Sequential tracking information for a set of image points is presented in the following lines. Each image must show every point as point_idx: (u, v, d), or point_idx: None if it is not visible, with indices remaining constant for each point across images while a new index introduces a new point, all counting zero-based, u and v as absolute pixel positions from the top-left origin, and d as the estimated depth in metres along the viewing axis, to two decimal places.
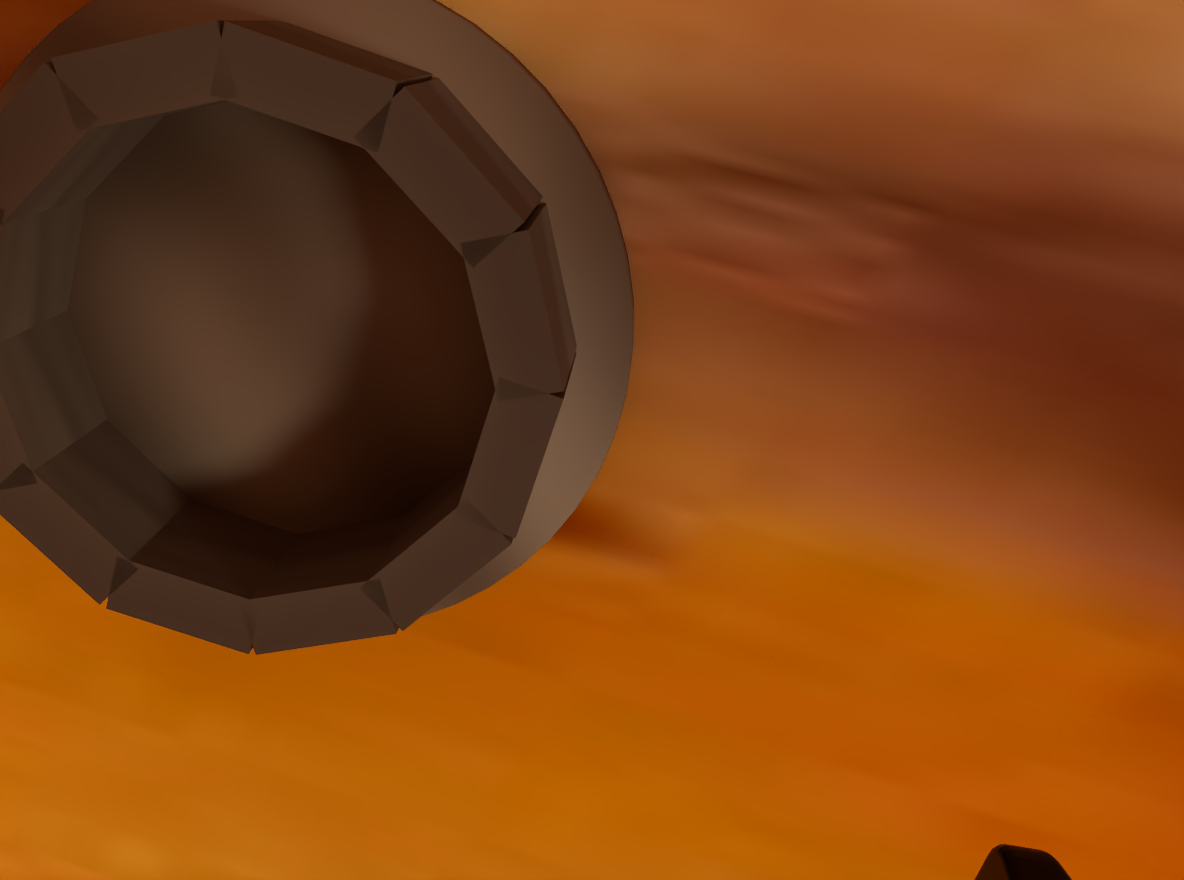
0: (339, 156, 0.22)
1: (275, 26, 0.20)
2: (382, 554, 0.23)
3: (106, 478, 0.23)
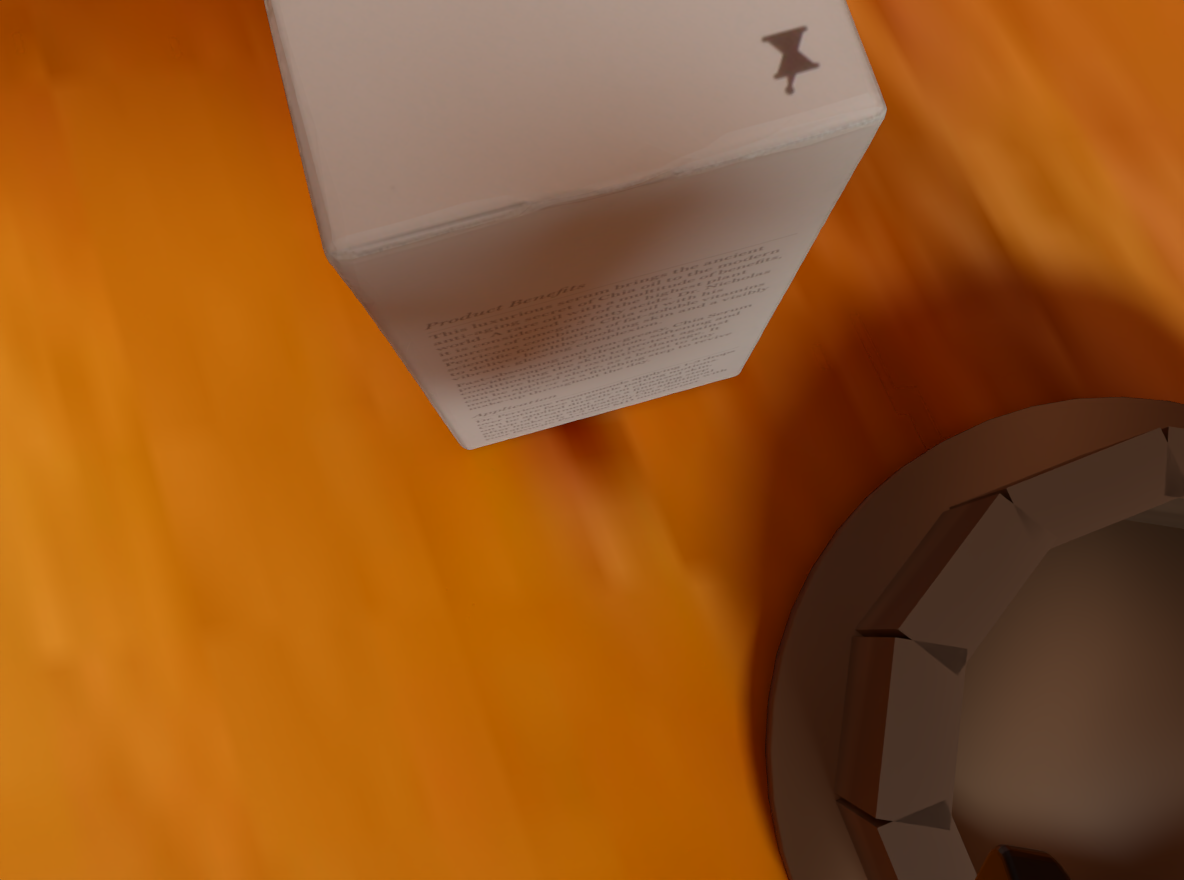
0: None
1: None
2: None
3: None
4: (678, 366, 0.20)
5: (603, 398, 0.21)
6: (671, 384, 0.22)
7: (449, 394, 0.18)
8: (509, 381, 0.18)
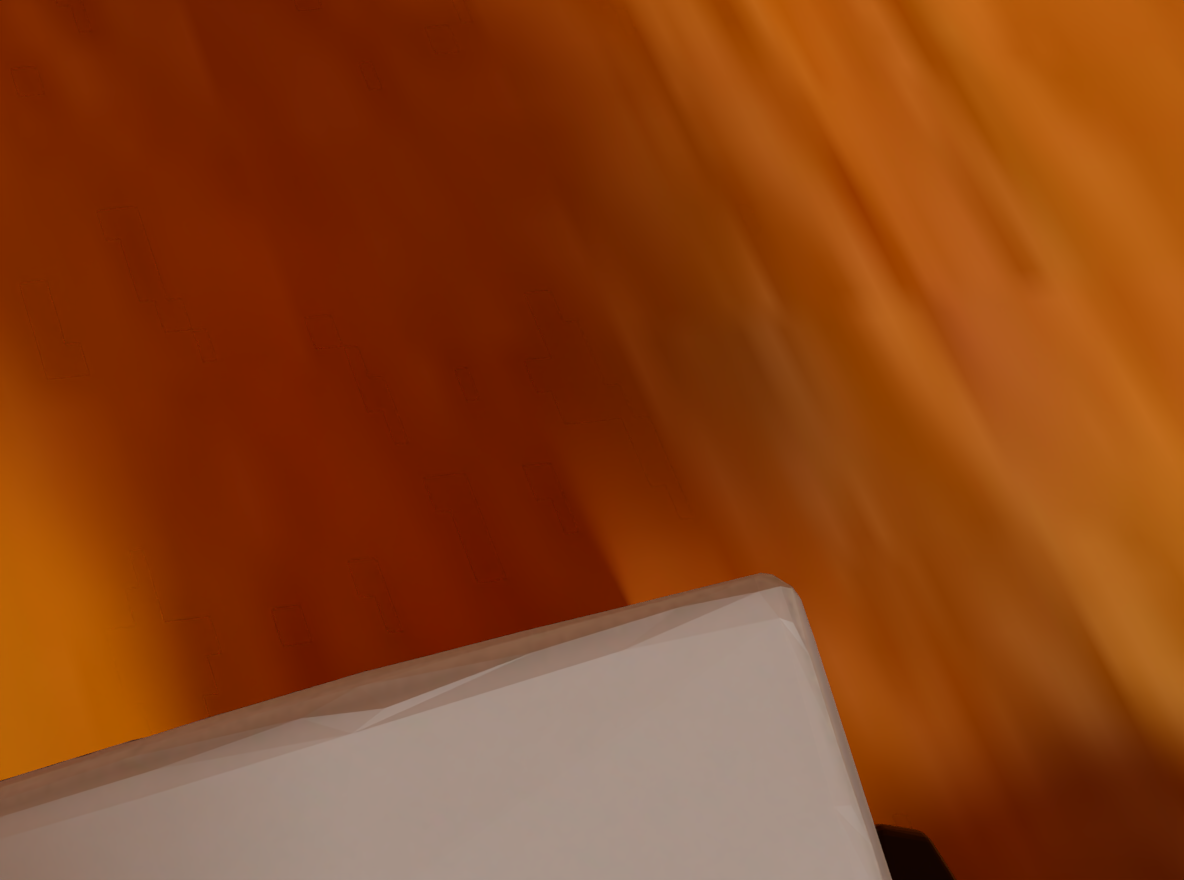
0: None
1: None
2: None
3: None
4: None
5: None
6: None
7: None
8: None
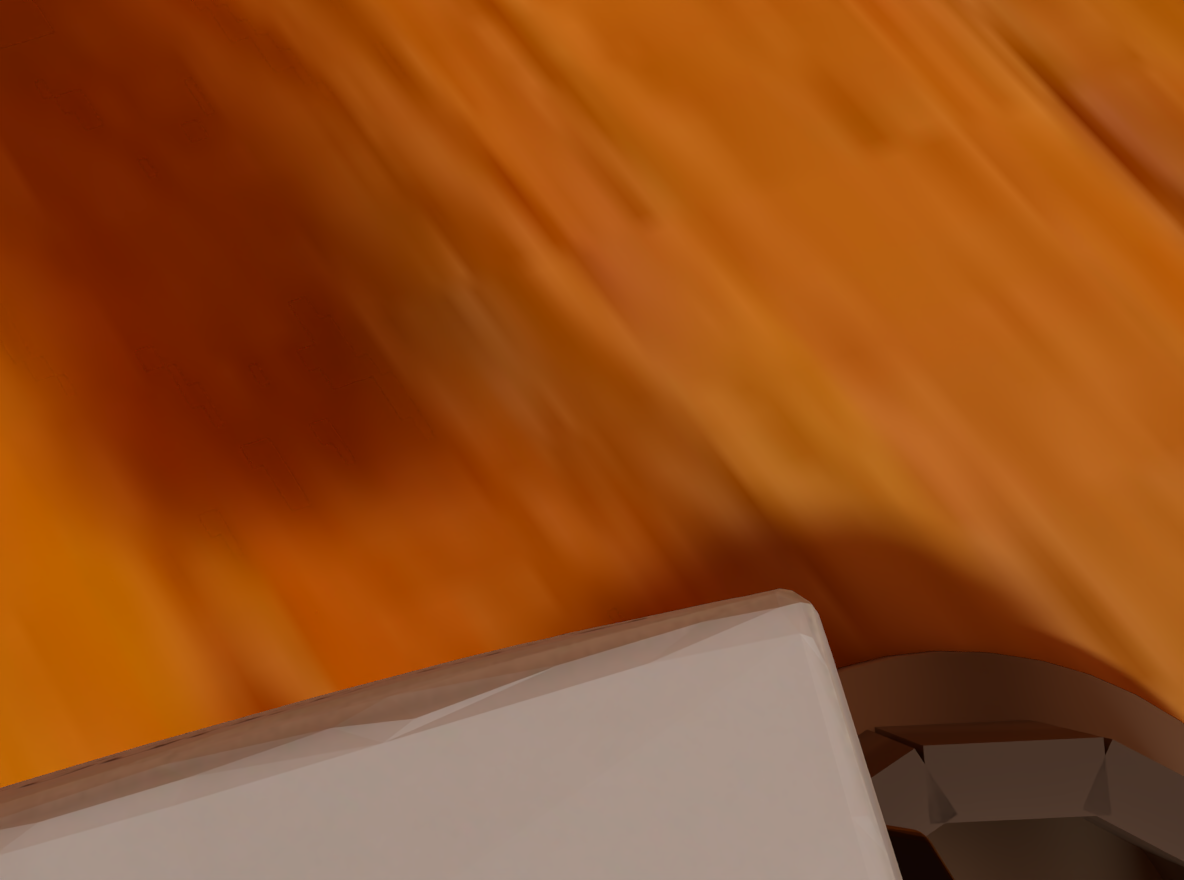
0: None
1: None
2: None
3: None
4: None
5: None
6: None
7: None
8: None
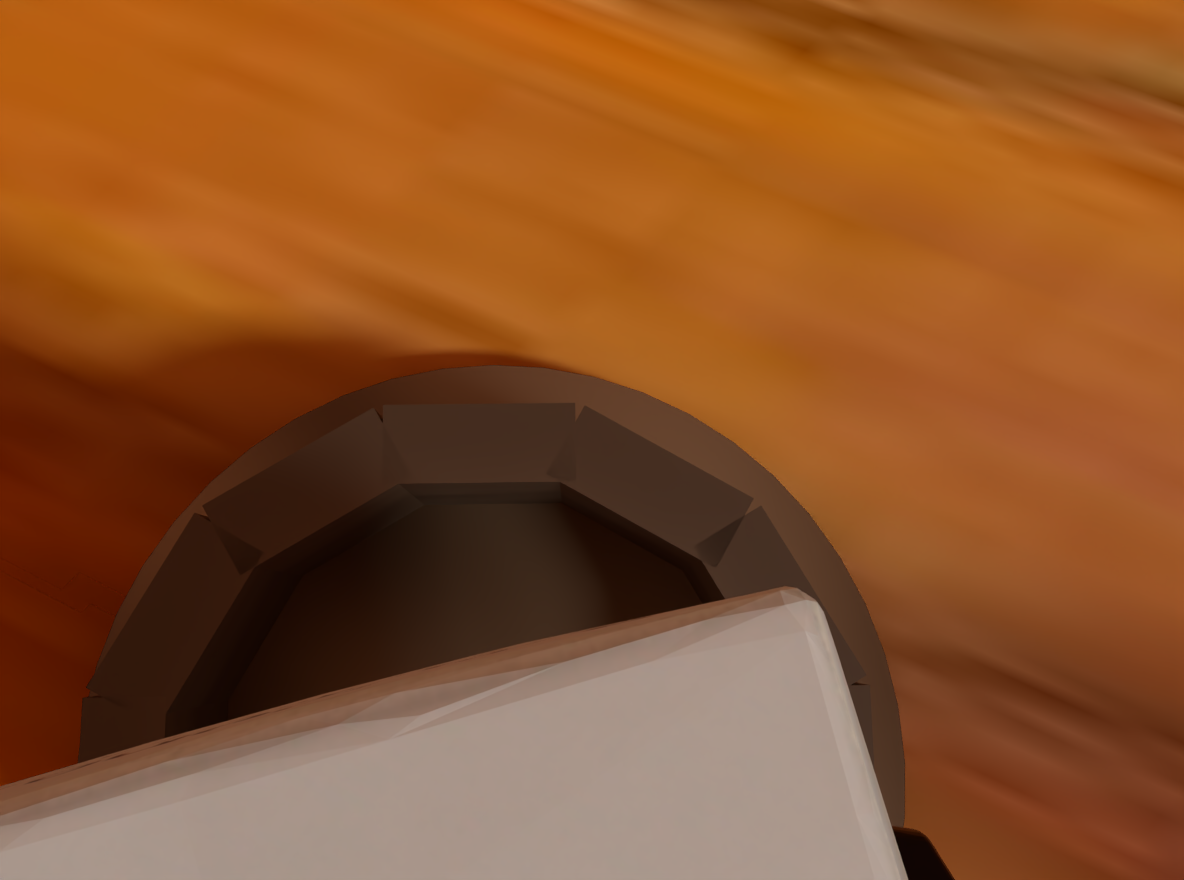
0: (605, 583, 0.20)
1: None
2: None
3: None
4: None
5: None
6: None
7: None
8: None
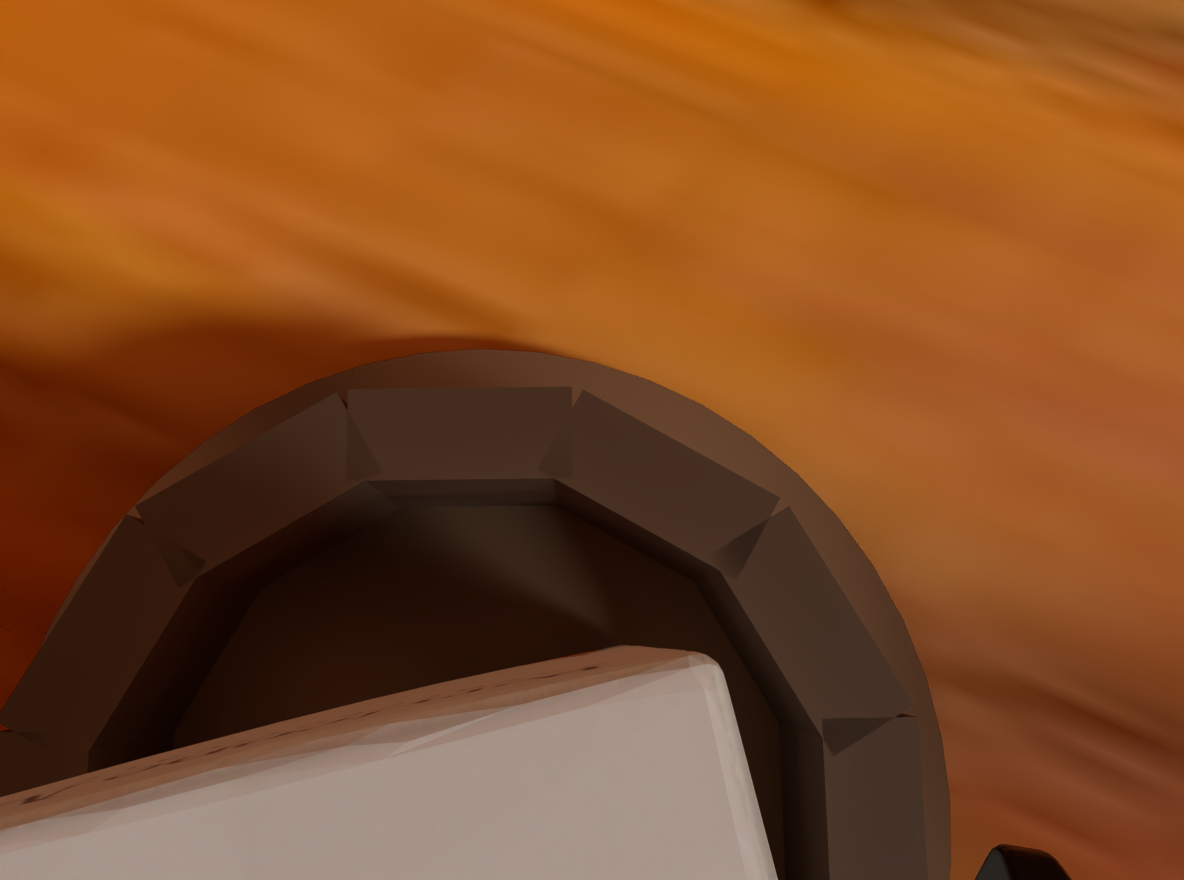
0: (607, 596, 0.17)
1: None
2: None
3: None
4: None
5: None
6: None
7: None
8: None
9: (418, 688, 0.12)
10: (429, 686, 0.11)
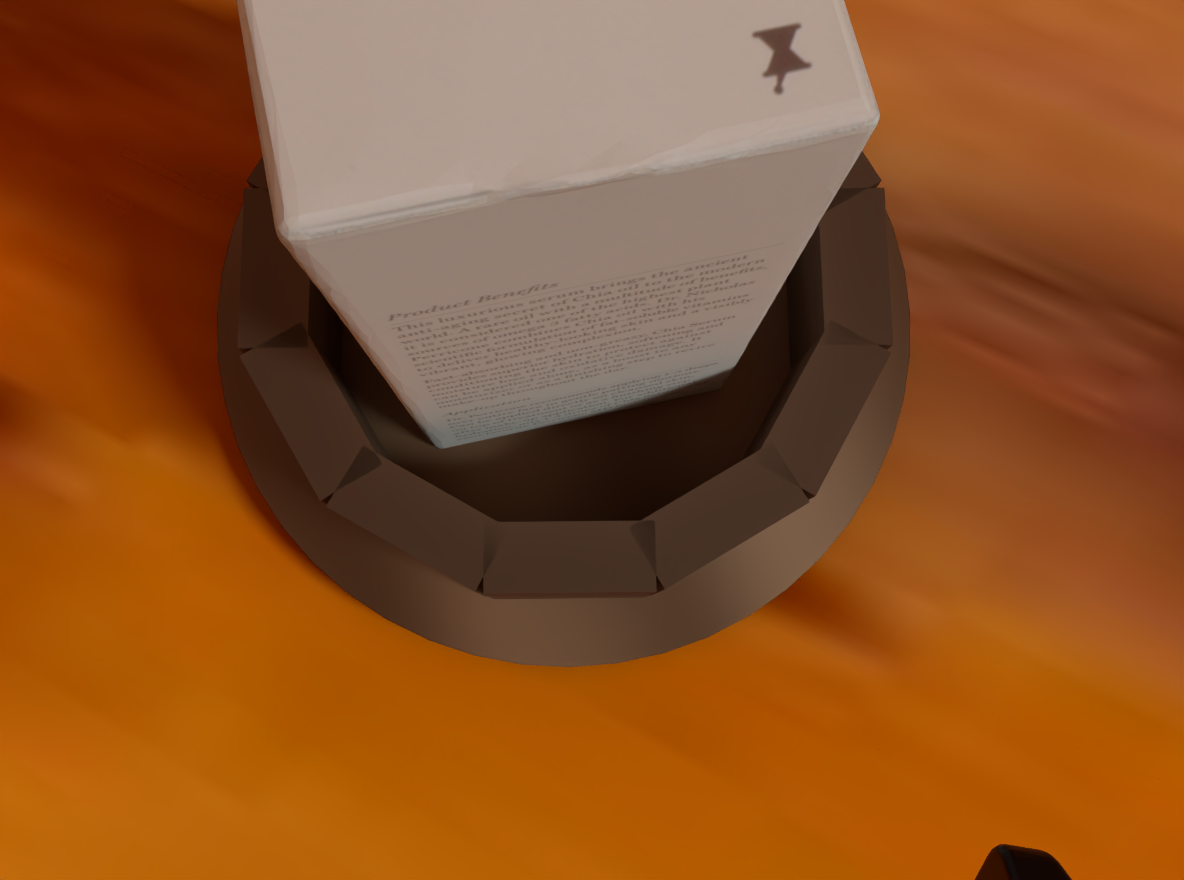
0: None
1: None
2: None
3: (349, 397, 0.21)
4: (658, 375, 0.20)
5: (580, 404, 0.21)
6: (651, 393, 0.21)
7: (417, 389, 0.17)
8: (480, 380, 0.17)
9: None
10: None
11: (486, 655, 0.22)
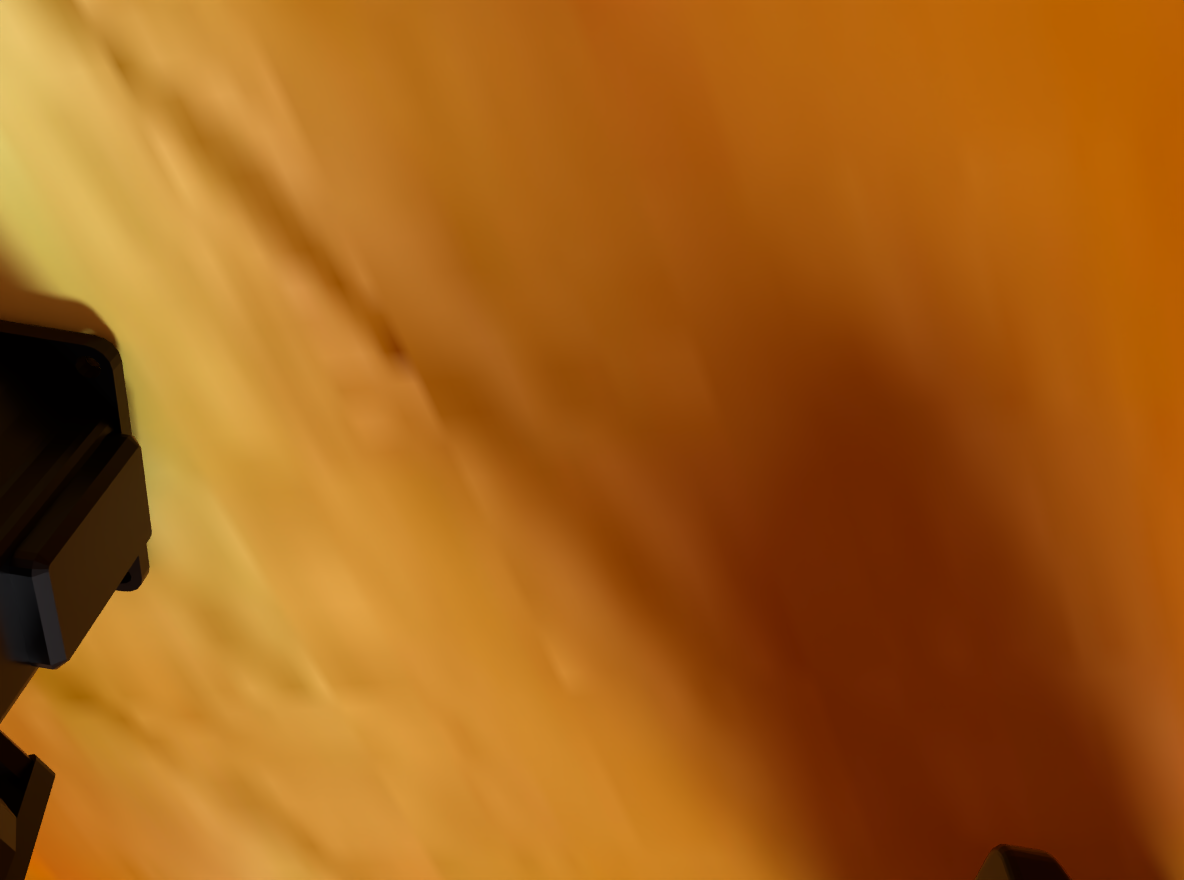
0: None
1: None
2: None
3: None
4: None
5: None
6: None
7: None
8: None
9: None
10: None
11: None
